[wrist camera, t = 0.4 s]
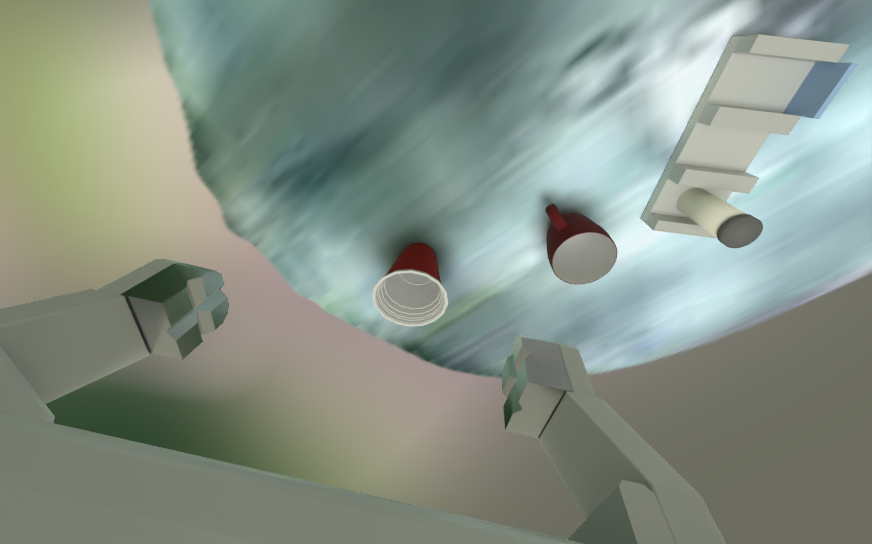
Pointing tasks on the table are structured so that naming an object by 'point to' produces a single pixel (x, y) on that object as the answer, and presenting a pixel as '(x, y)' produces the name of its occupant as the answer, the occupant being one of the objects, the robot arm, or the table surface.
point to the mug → (578, 247)
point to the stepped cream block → (745, 118)
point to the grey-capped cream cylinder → (719, 218)
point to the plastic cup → (412, 289)
